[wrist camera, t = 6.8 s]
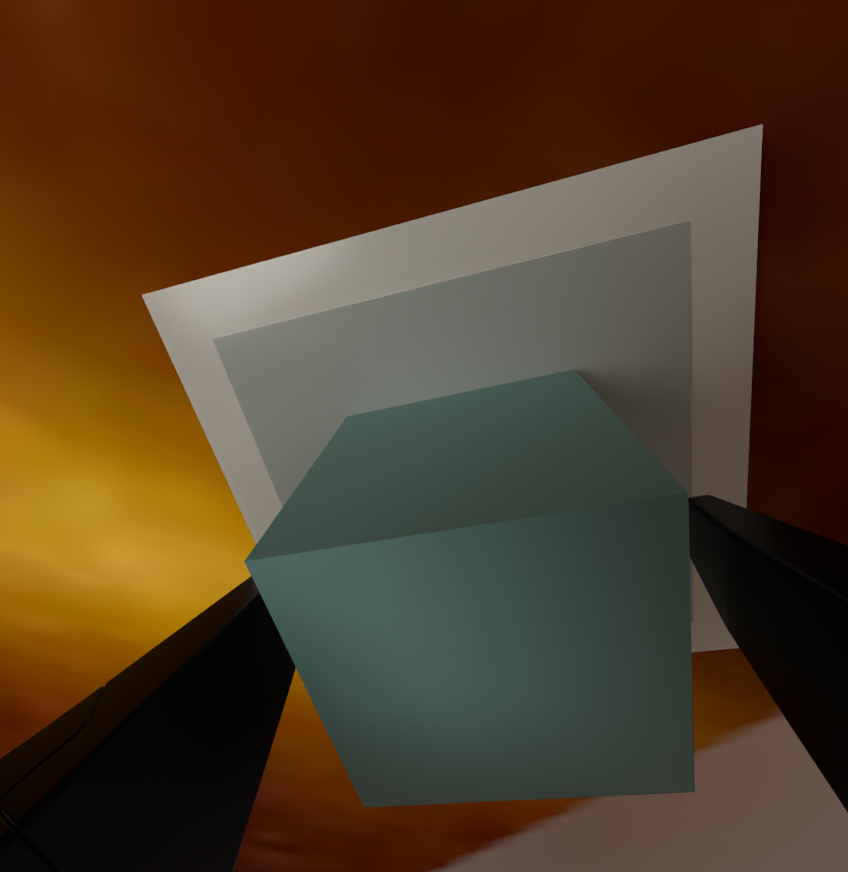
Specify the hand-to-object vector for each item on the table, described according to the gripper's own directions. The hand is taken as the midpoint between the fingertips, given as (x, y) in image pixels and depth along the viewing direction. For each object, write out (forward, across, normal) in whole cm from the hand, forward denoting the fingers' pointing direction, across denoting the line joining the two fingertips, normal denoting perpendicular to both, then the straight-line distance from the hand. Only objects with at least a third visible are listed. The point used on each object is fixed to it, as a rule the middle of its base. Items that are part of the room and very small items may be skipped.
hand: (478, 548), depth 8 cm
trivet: (+3, 0, 0) cm, 3 cm away
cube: (+2, 0, 0) cm, 2 cm away
